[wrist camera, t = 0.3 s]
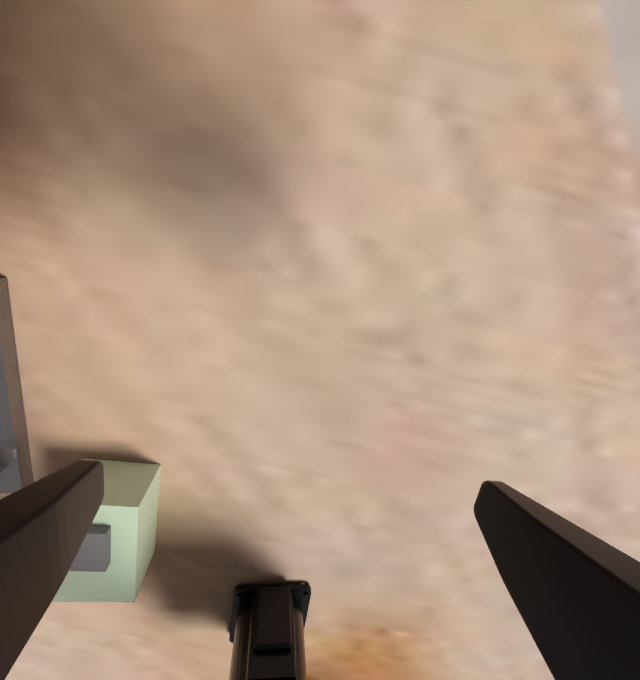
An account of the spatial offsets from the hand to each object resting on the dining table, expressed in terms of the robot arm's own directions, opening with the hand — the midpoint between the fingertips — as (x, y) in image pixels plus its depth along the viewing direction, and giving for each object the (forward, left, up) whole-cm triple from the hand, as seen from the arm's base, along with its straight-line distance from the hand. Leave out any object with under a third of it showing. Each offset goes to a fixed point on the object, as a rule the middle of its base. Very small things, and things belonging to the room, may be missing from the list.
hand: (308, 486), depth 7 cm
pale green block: (-15, +11, -14) cm, 23 cm away
